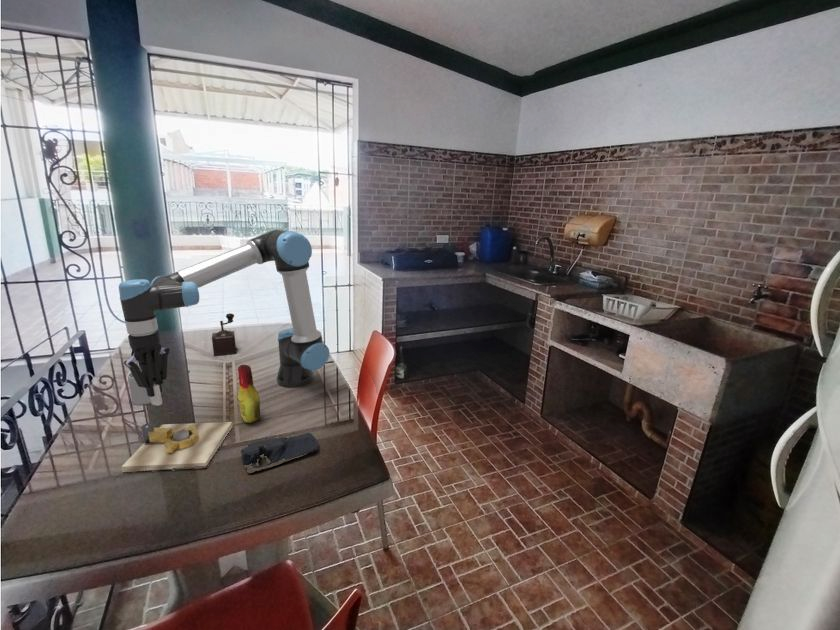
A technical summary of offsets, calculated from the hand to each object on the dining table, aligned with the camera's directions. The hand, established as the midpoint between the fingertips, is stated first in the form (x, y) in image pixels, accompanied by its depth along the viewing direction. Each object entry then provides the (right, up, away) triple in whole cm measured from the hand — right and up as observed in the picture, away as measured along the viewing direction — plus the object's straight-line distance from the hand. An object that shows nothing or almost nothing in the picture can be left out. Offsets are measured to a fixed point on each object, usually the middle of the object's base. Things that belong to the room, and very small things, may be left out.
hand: (157, 403), depth 121 cm
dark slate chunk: (+39, -15, -2) cm, 42 cm away
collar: (+5, -11, -2) cm, 12 cm away
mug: (-23, -4, +29) cm, 37 cm away
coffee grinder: (-18, +9, +80) cm, 83 cm away
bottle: (+22, -9, +17) cm, 29 cm away
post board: (+9, -13, -1) cm, 16 cm away
